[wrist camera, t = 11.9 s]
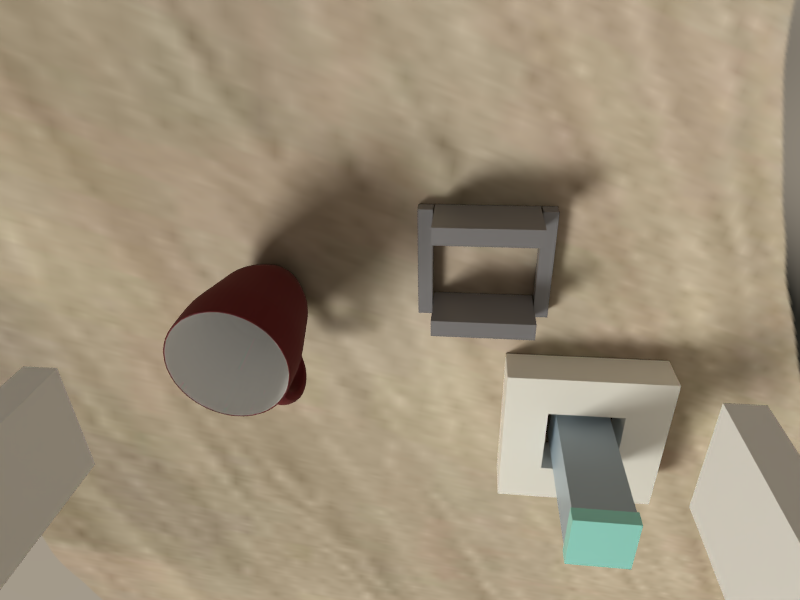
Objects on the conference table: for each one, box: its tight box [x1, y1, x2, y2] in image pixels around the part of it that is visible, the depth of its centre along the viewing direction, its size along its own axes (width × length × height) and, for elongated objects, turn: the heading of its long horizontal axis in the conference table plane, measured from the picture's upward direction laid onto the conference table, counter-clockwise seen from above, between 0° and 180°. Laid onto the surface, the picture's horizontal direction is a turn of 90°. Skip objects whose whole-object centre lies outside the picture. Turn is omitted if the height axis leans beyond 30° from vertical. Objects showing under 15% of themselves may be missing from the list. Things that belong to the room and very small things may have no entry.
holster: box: [418, 204, 560, 340], centre depth 39 cm, size 8×9×4 cm
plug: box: [548, 414, 643, 569], centre depth 42 cm, size 4×4×12 cm
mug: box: [163, 264, 308, 416], centre depth 41 cm, size 10×8×10 cm
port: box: [497, 353, 681, 504], centre depth 46 cm, size 12×12×3 cm
